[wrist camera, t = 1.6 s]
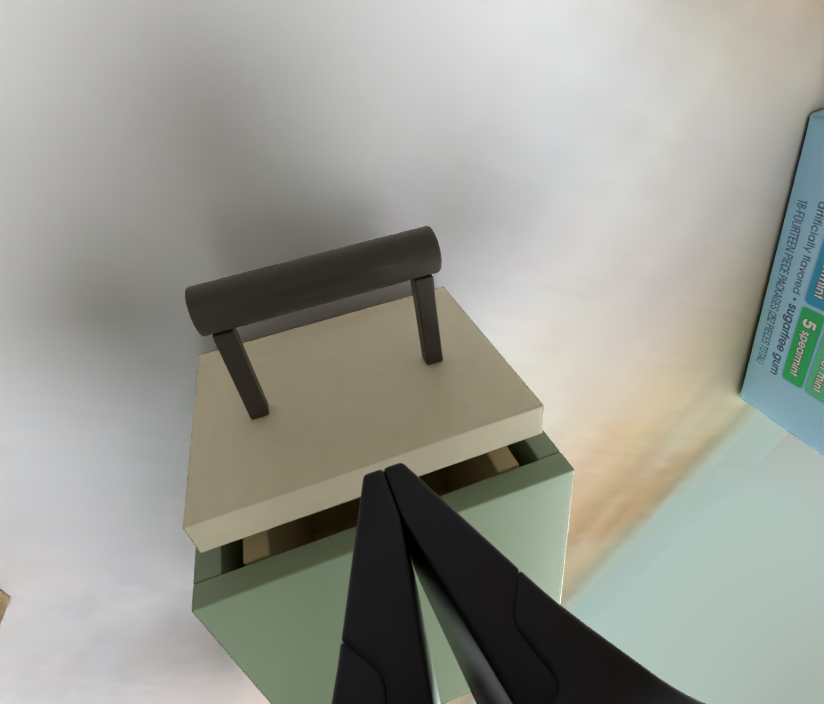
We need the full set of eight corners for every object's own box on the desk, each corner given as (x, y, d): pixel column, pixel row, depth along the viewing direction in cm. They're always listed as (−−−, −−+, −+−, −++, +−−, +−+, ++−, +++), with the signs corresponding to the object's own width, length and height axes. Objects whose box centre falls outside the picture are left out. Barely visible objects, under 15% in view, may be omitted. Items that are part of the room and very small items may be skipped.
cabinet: (205, 387, 21) (190, 612, 13) (453, 315, 23) (575, 469, 15) (293, 557, 29) (318, 759, 21) (470, 492, 31) (555, 655, 23)
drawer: (142, 244, 16) (82, 391, 9) (432, 175, 18) (550, 259, 11) (289, 535, 26) (309, 703, 20) (463, 472, 28) (535, 608, 21)
